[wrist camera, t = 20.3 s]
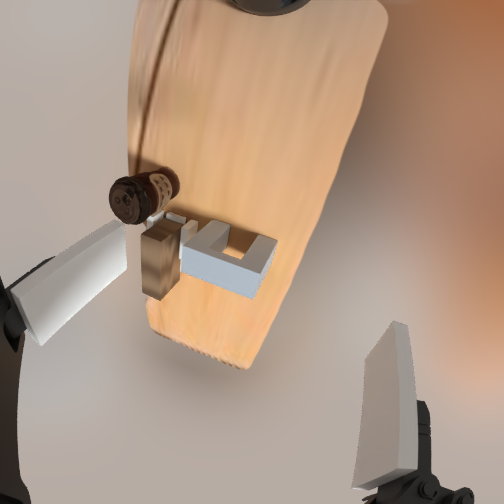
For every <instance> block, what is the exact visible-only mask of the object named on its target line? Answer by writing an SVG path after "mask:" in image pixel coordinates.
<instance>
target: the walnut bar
mask: <svg viewBox="0 0 504 504" xmlns="http://www.w3.org/2000/svg"><path fill="white" fill-rule="evenodd" d="M182 226H184V224H182V223H179V222H176V221H173V220H170V219H167V218H164V219H162V220H161V221H159V222H158V223H156V224H155V225H153V226H152V227H150V228H149V229H147V230H146V231H145V232H143V233H142V234H141V267H142V268H141V270H142V291H143V293H145V294H147V295H149V296H151V297H153V298H155V299H157V300H159V301H161V300H162V299H163V297H164V296H165V295H166V294H167V293H168V292H169V291H170V290H171V289H172V288H173V287H174V285H175V284H176V283H177V282H178V281H179V279H180V264H181V259H179V251H180V238H181V227H182Z"/></svg>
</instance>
